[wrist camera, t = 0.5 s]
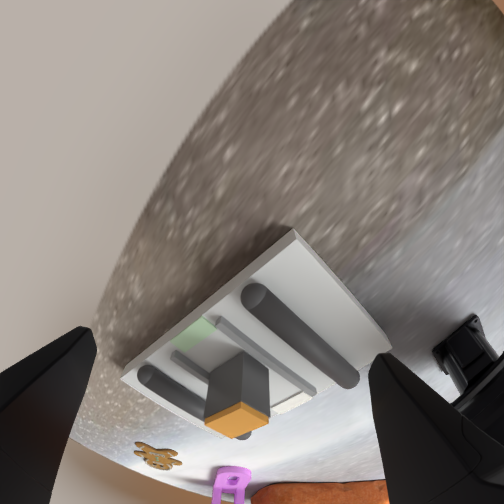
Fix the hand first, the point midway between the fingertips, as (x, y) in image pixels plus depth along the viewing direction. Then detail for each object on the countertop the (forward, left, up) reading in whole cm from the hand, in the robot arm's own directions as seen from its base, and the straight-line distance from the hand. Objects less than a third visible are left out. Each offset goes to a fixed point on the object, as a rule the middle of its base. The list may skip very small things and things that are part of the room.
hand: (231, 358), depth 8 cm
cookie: (-19, +38, -14) cm, 45 cm away
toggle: (-9, +9, -11) cm, 17 cm away
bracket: (-32, +34, -14) cm, 49 cm away
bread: (-55, +29, -14) cm, 63 cm away
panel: (-10, +9, -13) cm, 19 cm away
